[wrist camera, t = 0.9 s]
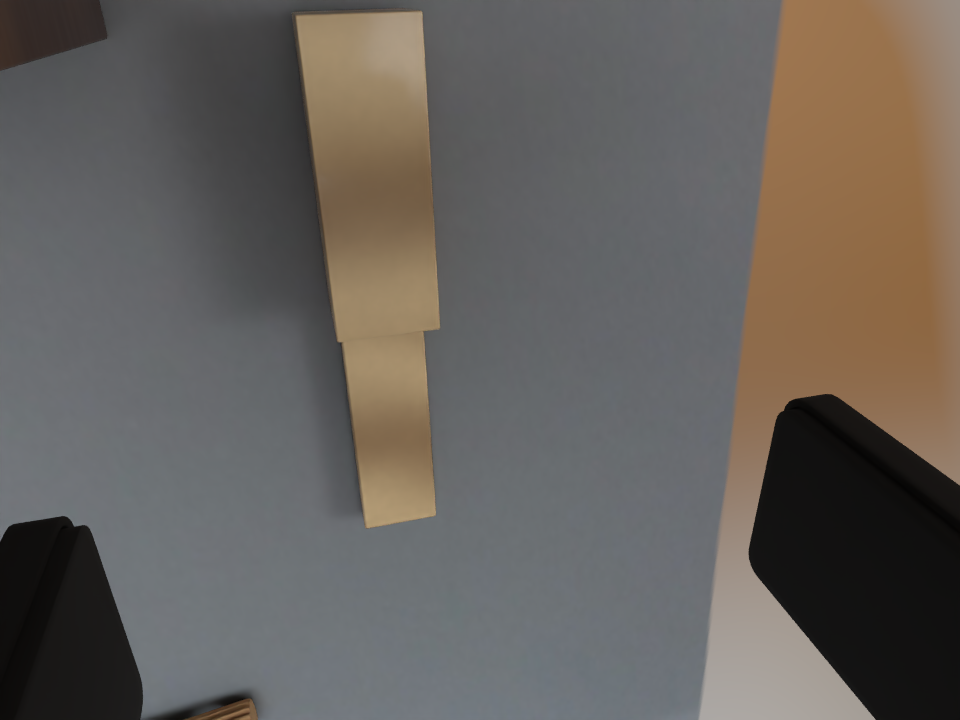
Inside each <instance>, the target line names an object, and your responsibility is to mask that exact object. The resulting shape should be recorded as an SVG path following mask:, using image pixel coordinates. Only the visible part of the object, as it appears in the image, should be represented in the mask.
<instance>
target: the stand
mask: <svg viewBox="0 0 960 720" xmlns="http://www.w3.org/2000/svg"><path fill="white" fill-rule="evenodd" d="M104 39H107V32H106V28H105V24H104V19H103V15H102V11H101V7H100V3H99V0H0V71H2V70H5V69H8V68H11V67H15V66H18V65H21V64H25V63H28V62H31V61H35V60H38V59H41V58H45V57H48V56H51V55H54V54H58V53H61V52H64V51H68V50H71V49H74V48H78V47H81V46H84V45H88V44H91V43H94V42H97V41H101V40H104Z"/></svg>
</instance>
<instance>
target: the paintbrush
mask: <svg viewBox="0 0 960 720" xmlns="http://www.w3.org/2000/svg"><path fill="white" fill-rule="evenodd" d="M184 720H258V717H257V714H256V708H255V706H254V703H253V701H252V699H245V700H242V701H239V702H236V703H233V704H230V705H227V706H224V707H221V708H218V709H215V710H212V711H209V712H206V713H203V714H200V715H197V716H193V717H190V718H187V719H184Z"/></svg>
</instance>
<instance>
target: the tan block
mask: <svg viewBox="0 0 960 720" xmlns="http://www.w3.org/2000/svg"><path fill="white" fill-rule="evenodd" d="M292 20H293V28H294V36H295V43H296V51H297V58H298V66H299V74H300V81H301V89H302V96H303V104H304V112H305V119H306V127H307V134H308V142H309V150H310V157H311V165H312V172H313V180H314V188H315V195H316V203H317V210H318V218H319V225H320V233H321V241H322V248H323V256H324V263H325V271H326V279H327V286H328V294H329V301H330V308H331V313H332V318H333V323H334V328H335V333H336V338H337V342H341V348H342V356H343V363H344V371H345V379H346V387H347V395H348V403H349V410H350V418H351V426H352V434H353V442H354V450H355V457H356V465H357V473H358V481H359V489H360V497H361V505H362V512H363V518H364V524H365V528H367V529H368V528H373V527H379V526H384V525H389V524H395V523H400V522H405V521H411V520H416V519H421V518H426V517H432V516H435V515H436V505H435V490H434V475H433V461H432V446H431V431H430V416H429V401H428V387H427V372H426V357H425V342H424V331H429V330H437V329H440V317H439V299H438V282H437V264H436V246H435V228H434V210H433V192H432V174H431V156H430V138H429V121H428V103H427V85H426V67H425V49H424V31H423V13H422V11H420V10H413V9H406V8H390V9H361V10H332V11H303V12H292Z"/></svg>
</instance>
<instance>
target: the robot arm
mask: <svg viewBox="0 0 960 720" xmlns="http://www.w3.org/2000/svg"><path fill="white" fill-rule="evenodd" d="M749 560H750V563H751V566H752V569H753V570H754V572H755V574H756V575H757V576H758V578H759V579H760V580H761V581H762V583H763V584H764V585H765V586H766V587H767V589H768V590H769V591H770V592H771V593H772V594H773V596H774V597H775V598H776V599H777V601H778V602H779V603H780V604H781V606H782V607H783V608H784V609H785V610H786V612H787V613H788V614H789V615H790V616H791V618H792V619H793V620H794V621H795V623H796V624H797V625H798V626H799V627H800V629H801V630H802V631H803V632H804V633H805V635H806V636H807V637H808V638H809V639H810V641H811V642H812V643H813V644H814V646H815V647H816V648H817V649H818V650H819V652H820V653H821V654H822V655H823V656H824V658H825V659H826V660H827V661H828V662H829V664H830V665H831V666H832V667H833V668H834V669H835V671H836V672H837V673H838V674H839V676H840V677H841V678H842V679H843V681H844V682H845V683H846V684H847V685H848V687H849V688H850V689H851V690H852V691H853V692H854V694H855V695H856V696H857V697H858V699H859V700H860V701H861V702H862V704H863V705H864V706H865V707H866V708H867V710H868V711H869V712H870V713H871V714H872V716H873V717H874V718H875V719H876V720H960V485H958V484H957V483H956V482H954V481H953V480H951V479H950V478H948V477H947V476H946V475H944V474H943V473H942V472H940V471H939V470H938V469H936V468H935V467H933V466H932V465H931V464H929V463H928V462H927V461H925V460H924V459H922V458H921V457H919V456H918V455H917V454H915V453H914V452H913V451H911V450H910V449H909V448H907V447H906V446H904V445H903V444H902V443H900V442H899V441H897V440H896V439H895V438H893V437H892V436H891V435H889V434H888V433H886V432H885V431H884V430H882V429H881V428H879V427H878V426H876V425H875V424H874V423H872V422H871V421H870V420H868V419H867V418H866V417H864V416H863V415H862V414H860V413H859V412H857V411H856V410H855V409H853V408H852V407H850V406H849V405H848V404H846V403H845V402H844V401H842V400H841V399H839V398H838V397H836V396H834V395H832V394H823V395H817V396H811V397H805V398H798V399H794V400H792V401H789V403H788V404H787V405H786V406H785V409H784V411H783V412H781V413H780V414H779V415H778V416H777V419H776V423H775V427H774V432H773V437H772V442H771V447H770V451H769V456H768V460H767V465H766V470H765V475H764V479H763V484H762V489H761V494H760V498H759V503H758V508H757V512H756V517H755V522H754V527H753V532H752V536H751V541H750V546H749ZM142 704H143V690H142V682H141V678H140V674H139V671H138V668H137V665H136V662H135V659H134V656H133V653H132V650H131V647H130V645H129V642H128V639H127V636H126V633H125V630H124V627H123V624H122V621H121V618H120V615H119V612H118V609H117V606H116V603H115V600H114V597H113V594H112V592H111V589H110V586H109V583H108V580H107V577H106V574H105V571H104V568H103V565H102V562H101V559H100V556H99V553H98V550H97V547H96V544H95V541H94V538H93V536H92V533H91V531H90V529H89V528H88V527H87V526H85V525H82V526H76V527H74V526H73V524H72V522H71V520H70V519H69V518H68V517H65V516H61V517H55V518H49V519H43V520H36V521H30V522H24V523H18V524H13V525H11V526H9V527H8V529H7V530H6V532H5V533H4V535H3V537H2V539H1V542H0V720H140V718H141V712H142Z"/></svg>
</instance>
